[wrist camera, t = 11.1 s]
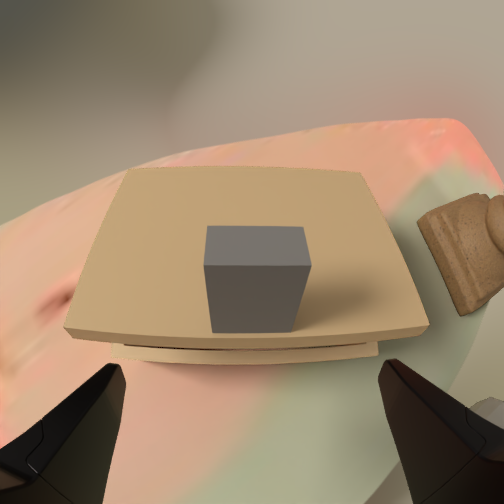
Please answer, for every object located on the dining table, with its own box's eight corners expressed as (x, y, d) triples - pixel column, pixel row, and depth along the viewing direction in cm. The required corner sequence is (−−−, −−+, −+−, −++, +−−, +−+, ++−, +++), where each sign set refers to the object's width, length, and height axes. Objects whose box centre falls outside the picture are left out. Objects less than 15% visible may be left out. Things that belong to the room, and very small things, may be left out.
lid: (419, 335, 12) (477, 267, 9) (72, 338, 11) (17, 266, 8) (357, 184, 20) (374, 122, 17) (131, 181, 20) (118, 116, 16)
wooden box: (345, 358, 22) (378, 355, 16) (140, 360, 21) (111, 357, 16) (332, 221, 26) (355, 184, 21) (151, 219, 25) (132, 181, 20)
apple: (450, 483, 17) (491, 497, 11) (414, 447, 19) (459, 461, 13) (493, 421, 19) (536, 423, 13) (463, 380, 21) (510, 376, 15)
